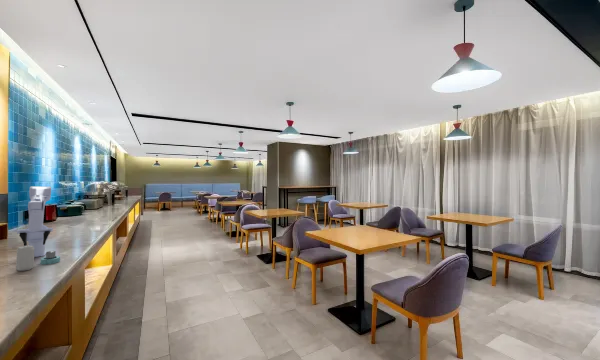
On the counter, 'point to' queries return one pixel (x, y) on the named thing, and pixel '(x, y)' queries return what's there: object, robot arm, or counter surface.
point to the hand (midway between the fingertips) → (34, 245)
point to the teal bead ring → (50, 260)
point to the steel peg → (50, 254)
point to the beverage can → (25, 258)
